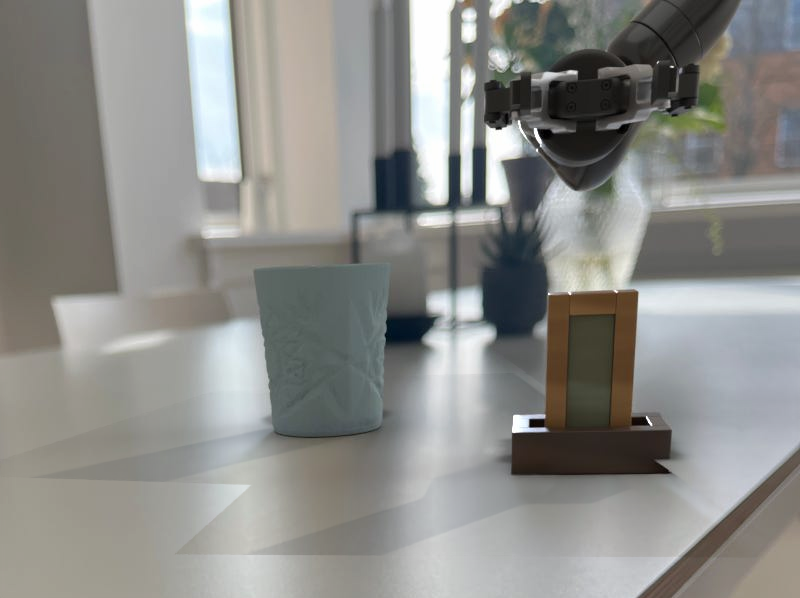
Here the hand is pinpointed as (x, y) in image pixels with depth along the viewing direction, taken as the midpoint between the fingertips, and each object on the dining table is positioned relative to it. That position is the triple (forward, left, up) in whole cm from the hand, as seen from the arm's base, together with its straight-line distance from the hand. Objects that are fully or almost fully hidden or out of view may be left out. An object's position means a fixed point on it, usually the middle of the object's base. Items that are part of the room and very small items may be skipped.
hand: (593, 84), depth 66 cm
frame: (+2, +11, -22) cm, 25 cm away
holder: (+2, +11, -22) cm, 25 cm away
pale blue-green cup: (+18, -7, -22) cm, 29 cm away
